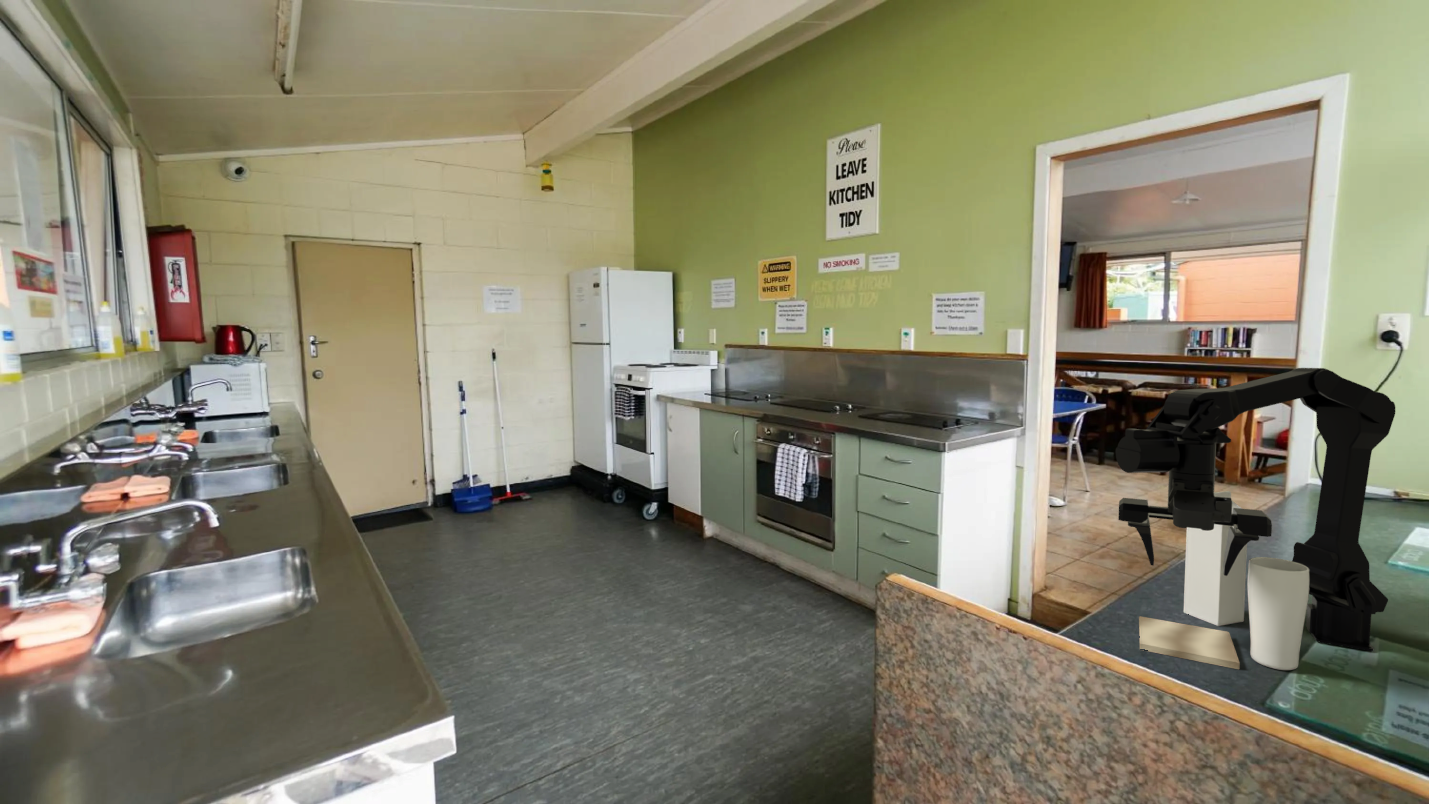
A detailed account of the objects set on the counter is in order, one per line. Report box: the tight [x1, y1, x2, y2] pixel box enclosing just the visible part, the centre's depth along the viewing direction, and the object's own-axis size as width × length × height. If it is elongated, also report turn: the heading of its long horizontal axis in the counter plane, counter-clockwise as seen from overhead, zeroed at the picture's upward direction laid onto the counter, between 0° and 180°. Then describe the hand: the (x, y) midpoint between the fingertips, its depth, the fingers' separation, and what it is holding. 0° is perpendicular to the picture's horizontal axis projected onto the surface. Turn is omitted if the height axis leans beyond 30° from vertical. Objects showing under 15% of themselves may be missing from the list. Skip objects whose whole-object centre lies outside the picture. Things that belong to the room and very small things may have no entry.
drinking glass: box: [1246, 556, 1310, 671], centre depth 93 cm, size 7×7×15 cm
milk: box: [1183, 490, 1248, 627], centre depth 109 cm, size 6×6×22 cm
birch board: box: [1138, 616, 1241, 670], centre depth 100 cm, size 12×12×1 cm
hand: (1187, 569), depth 99 cm, fingers open, 9 cm apart
